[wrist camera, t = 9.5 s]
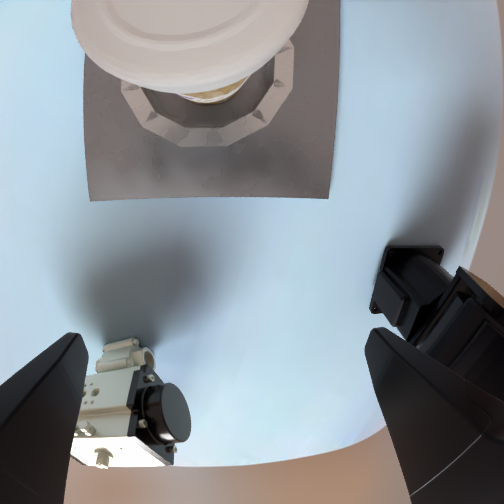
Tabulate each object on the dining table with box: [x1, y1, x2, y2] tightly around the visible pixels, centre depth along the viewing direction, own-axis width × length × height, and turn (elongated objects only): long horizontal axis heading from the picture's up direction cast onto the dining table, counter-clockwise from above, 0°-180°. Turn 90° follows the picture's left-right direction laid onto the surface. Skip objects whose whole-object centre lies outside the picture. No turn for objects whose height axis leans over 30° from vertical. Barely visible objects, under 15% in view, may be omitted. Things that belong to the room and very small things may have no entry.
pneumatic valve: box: [70, 337, 191, 468], centre depth 19 cm, size 6×12×12 cm, turn 108°
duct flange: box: [83, 0, 340, 201], centre depth 14 cm, size 16×16×3 cm
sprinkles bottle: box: [71, 0, 309, 105], centre depth 9 cm, size 5×5×13 cm
